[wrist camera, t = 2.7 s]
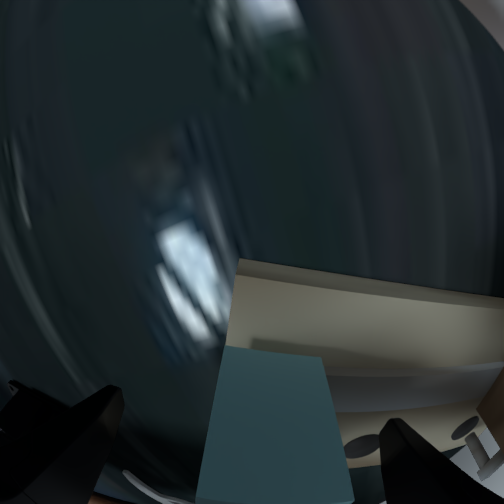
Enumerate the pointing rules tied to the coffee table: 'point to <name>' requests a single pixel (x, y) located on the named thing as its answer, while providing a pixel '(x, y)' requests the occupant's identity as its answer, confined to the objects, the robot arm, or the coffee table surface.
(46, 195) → the coffee table surface
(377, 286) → the beige board with blocks
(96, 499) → the sunglasses case
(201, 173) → the coffee table surface
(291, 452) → the teal block
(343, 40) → the coffee table surface
